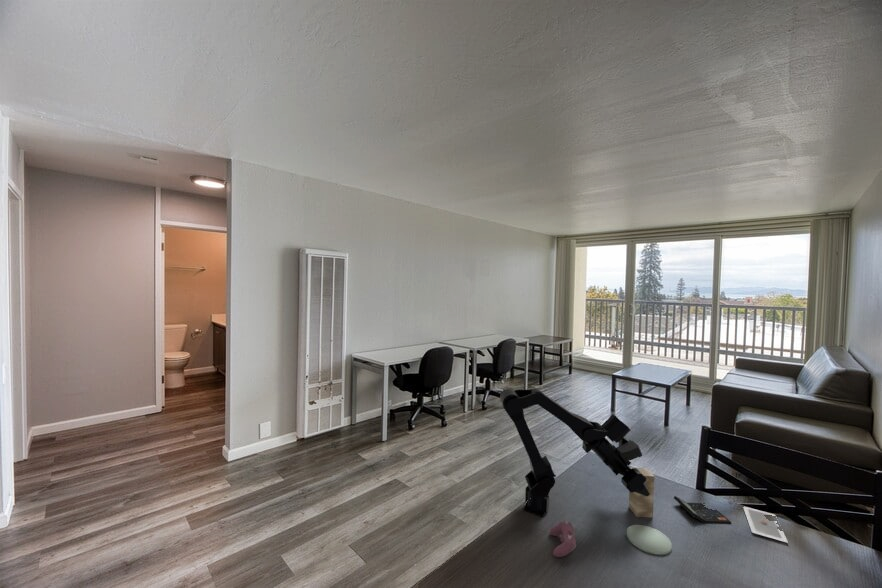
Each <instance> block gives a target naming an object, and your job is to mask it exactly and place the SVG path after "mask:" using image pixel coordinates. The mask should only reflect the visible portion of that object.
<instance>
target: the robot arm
mask: <svg viewBox="0 0 882 588" xmlns="http://www.w3.org/2000/svg"><path fill="white" fill-rule="evenodd" d="M499 400H500V403H501V405H502V406H503V409H504V411H505V412H506V414H507V415H508V417H509V418H510V419H511V421H512V423H513V424H514V427H515V428H516V430H517V433H518V435H519V437H520V440H521V442H522V444H523V447H524V449H525V452H526V453H527V456H528V459H529V466H530V469H531V470H530V471H529V472H527V474H526V475H525V476H524V478H525V482H526V483H527V486H526V487H525V493H524V494H525V495H524V496H525V498H524V501H525V502H526V501H527V500H528V501H527V503H526V505H525V504H524V506H523V507H522V509H523V511H526V512H528V513H530V514H533V515H536V516H538V517H542V518H543V517H545V515H546V513H548V511H549V509H550V496H549V494H550V491H551V489H552V488H554V485H555V484H556V479H555V478H556V477H557V476H556V474H555V472H554V470H553V469H552V465H551V463H550V461H549V459H548V458H547V455H544V456H543V457H542V455H541V454H540V451H539V449H538V447H537V444H536V442H535V439H534V436H533V435H532V432H531V430H530V428H529V426H528V424H527V421H526V419H525V414H524V410H525V409H528V408H531V407H533V406H536V405H537V406H539V407H541V408H542V409H544V410H545V411H547V412H548V413H549V414H551V415H552V416H553V417H555V418H557V419H558V420H559V421H561V422H562V423H563V424H565V425H566V426H567V427H569V429H570V430H571V431H572V432H573V433H574V434H575V435H576V436H577V437H578V438H579V439H580V440H581V441H582V449H583V450H584V452H585V453H586V454H589V453H590V452H591V451H592V452H594V454H595V455H596V456H597V457H598V458H599V459H600V460H601V461H602V462H603V464H605V466H606V467H608V468H609V469H610V470H611V471H612V472H613V473H614V475H615V476H618V475H621V476H622V477H621V478H620V479H621V481H620V482H621V483H622V485H623V486H624V487H625V488H626V489H627V490H628V491H630V492H631V493H633V492H636V493H639V494H642V495H644V496H649V495H650V493H649V492H648V490H647V488H646V487H645V485H644V482H645V481H646V479H647V478H646V477H645V476H644V475H643V474H642V473H641V472H640V471H639V470H638V469H637V468H638V467H629V466H630V465H631V464H632V462H631V461H632V460H635V459H637V458H641V457H642V456H643V452H642V451H641V449H640V447H639V445H638V443H636V442H635V441H634V440H631V439H627V438H625V437H626V436H627V435H628V434H629V433H630V432H631V431H632V430H631V428H630V427H629V426H628V425H627V424H625V422H623V421H622V420H621V419H619V418H618V417H617V416H616V415H615V414H613V413H612V414H611V415H609V418H607V420H605V421H604V422H603V423H602V424H600V423H599V422H596V421H591V420H588V418H587V417H586V418H585V417H584V416H582V415H579V414H578V413H577V414H576V413H573V412H572V411H569V410H568V409H566V408H565V407H563V406H562V405H561V404H559V403H558V402H557V401H555V400H554V399H552V398H550V397H549V396H548V395H547V394H545V393H544V392H543V391H542V390H540V389H539V388H537V387H536V388H530V389H527V388H526V389H524V388H523V389H512V388H508V389H504V390H503V391H502V392H501V393H500V395H499ZM606 437H607V438H608V439H609V440H608V439H607V438H606ZM610 441H611V442H612V443H616V444H617V443H618V446H617V447H616V446H615V445H614V444H612V443H611V442H610ZM630 468H632V469H630ZM530 498H531V499H530ZM525 502H524V503H525Z"/></svg>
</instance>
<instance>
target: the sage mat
mask: <svg viewBox="0 0 882 588" xmlns="http://www.w3.org/2000/svg"><path fill="white" fill-rule="evenodd" d="M626 538H627V539H628V541H629V542H630V543H631V544H632V545H634V546H635V547H636V548H638V549H639V550H641V551H642V552H645V553H647V554H651V555H655V556H666V555H669V554H670V553H671V552H672V549H673V543H672V542H671V540H670V538H669V537H668V536H667V535H665V533H663V532H661V531H660V530H658V529H655V528H653V527H651V526H648V525H643V524H632V525H630V526H629V527H627V529H626Z"/></svg>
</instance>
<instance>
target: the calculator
mask: <svg viewBox="0 0 882 588" xmlns="http://www.w3.org/2000/svg"><path fill="white" fill-rule="evenodd" d="M673 499H674V500H675V501H676V502H677V503H678V504H679V505H680V506H681V507H682V508H684V509H685V510H686V512H688V514H689V515H691V516H692V517H694V518H695V519H697V520H699V521H701V522H702V523H705V524H727V525H728V524H732V521H731V520H730V519H728V518H727V517H726V516H725V515H724V514H722V513H721V512H720V511H719V510H718V509H716V510H712V509H708V508H706V507H704V506H705V505H703V504H705V502H703V504H702V502H686V501H684V500H683V499H681V498H679V497H678V496H676V495H674V496H673ZM717 510H718V511H717ZM709 522H710V523H709Z"/></svg>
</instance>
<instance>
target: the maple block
mask: <svg viewBox="0 0 882 588" xmlns="http://www.w3.org/2000/svg"><path fill="white" fill-rule="evenodd" d="M629 468H630V469H632V468H633V467H629ZM636 468H637V469H638V470H639V471H640V472H641V473H642V474H643V475H644V476H645V477H646V478H647V479H646V481H645V482H644V485H645V487H646V488H647V490H648V492H649V493H650V495H649V496H644V495H642V494H639V493H636V492H633V493H631V492H630V491H629V490H628V491H629V493H628V496H629V497H628V508H629V509H630V511H631V512H633V514H634V516H635V517H636V518H654V506H655V505H654V502H655V475H654V474H653V473H652V472H651V471H650V470H648V468H646V467H636Z"/></svg>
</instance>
